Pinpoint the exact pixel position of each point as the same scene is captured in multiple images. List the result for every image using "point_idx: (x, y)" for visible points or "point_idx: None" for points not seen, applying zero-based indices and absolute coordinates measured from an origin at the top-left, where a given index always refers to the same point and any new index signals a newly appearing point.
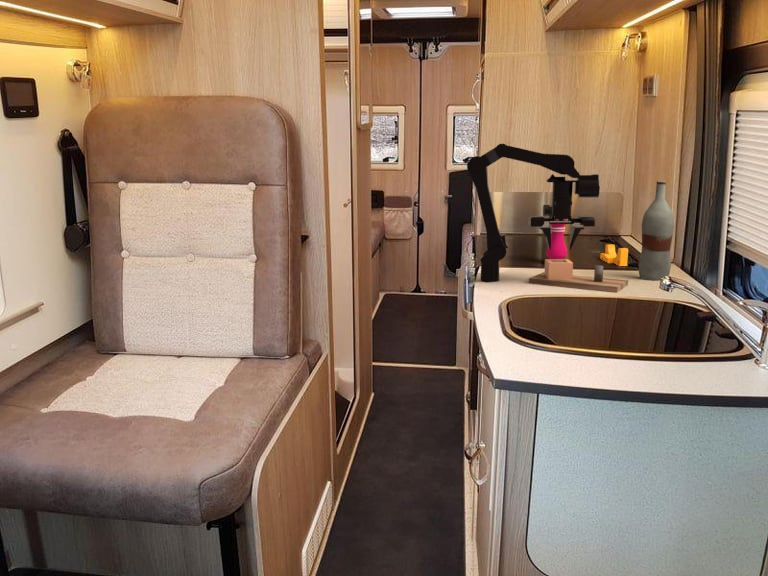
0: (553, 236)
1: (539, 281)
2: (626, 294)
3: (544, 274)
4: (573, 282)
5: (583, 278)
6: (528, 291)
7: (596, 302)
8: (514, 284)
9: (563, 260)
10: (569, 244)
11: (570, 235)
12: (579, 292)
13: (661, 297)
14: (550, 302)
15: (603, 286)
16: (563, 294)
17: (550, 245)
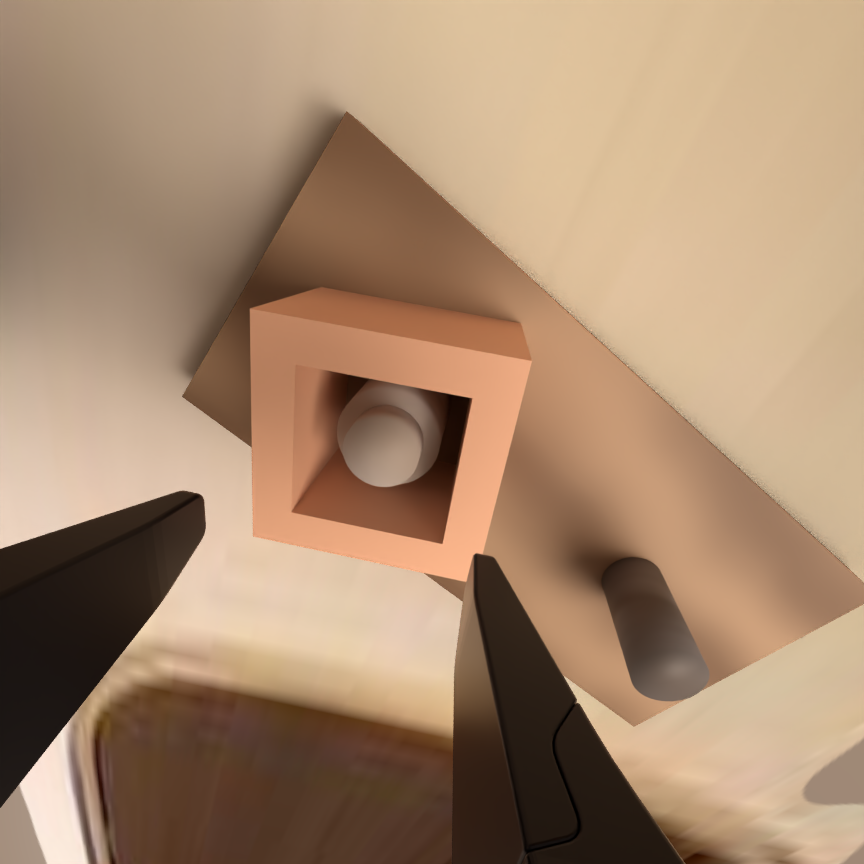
0: None
1: None
2: (643, 735)
3: (318, 288)
4: (444, 580)
5: (583, 478)
6: (183, 588)
7: (424, 794)
8: (111, 409)
9: (454, 394)
10: (462, 644)
11: (496, 790)
12: (431, 657)
13: (764, 806)
14: (250, 755)
15: (578, 681)
16: (338, 671)
17: (153, 598)
